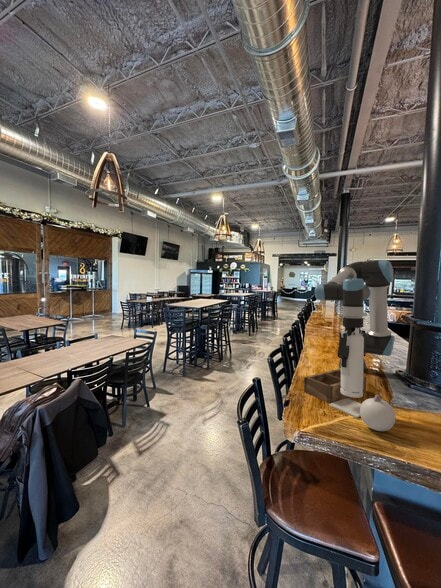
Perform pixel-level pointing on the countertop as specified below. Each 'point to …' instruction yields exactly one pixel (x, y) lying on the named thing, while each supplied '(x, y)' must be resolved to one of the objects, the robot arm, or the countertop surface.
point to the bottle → (354, 366)
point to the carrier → (327, 386)
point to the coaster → (348, 407)
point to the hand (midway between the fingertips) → (351, 373)
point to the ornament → (377, 414)
